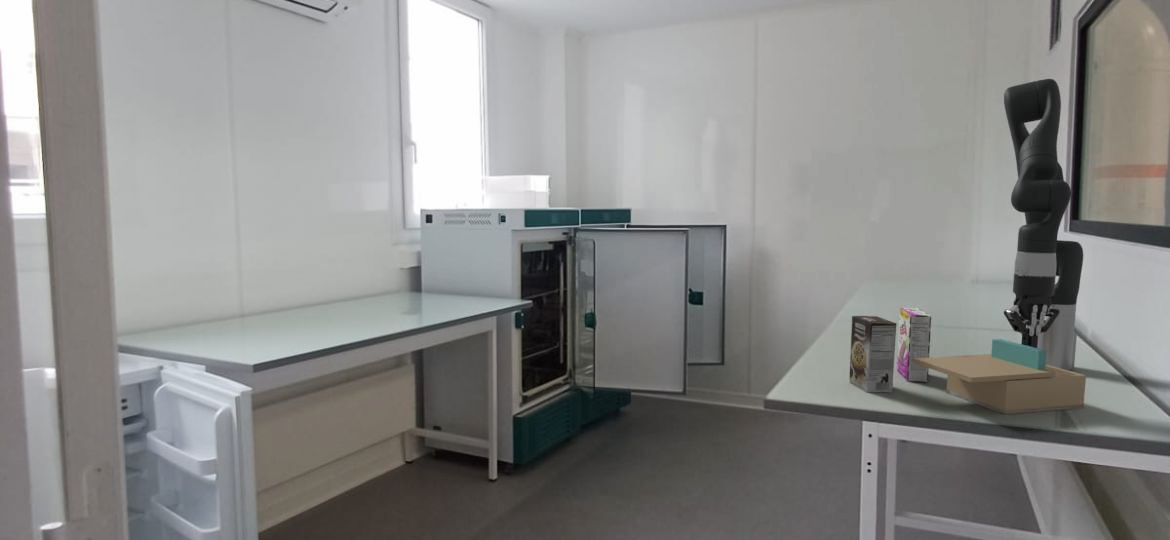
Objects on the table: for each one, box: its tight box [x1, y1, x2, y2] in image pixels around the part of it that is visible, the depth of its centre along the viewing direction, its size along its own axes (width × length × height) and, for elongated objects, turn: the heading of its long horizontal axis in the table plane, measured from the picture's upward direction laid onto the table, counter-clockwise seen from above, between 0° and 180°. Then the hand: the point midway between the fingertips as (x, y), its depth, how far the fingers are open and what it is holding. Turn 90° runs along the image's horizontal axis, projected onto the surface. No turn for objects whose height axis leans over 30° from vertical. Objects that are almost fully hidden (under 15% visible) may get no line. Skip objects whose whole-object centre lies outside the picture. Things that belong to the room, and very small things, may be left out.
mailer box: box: [946, 365, 1087, 415], centre depth 149 cm, size 20×16×7 cm
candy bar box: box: [896, 307, 932, 383], centre depth 168 cm, size 11×5×16 cm, turn 168°
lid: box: [913, 338, 1055, 383], centre depth 147 cm, size 21×17×5 cm
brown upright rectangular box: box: [848, 315, 897, 393], centre depth 159 cm, size 9×6×16 cm
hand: (1028, 351), depth 149 cm, fingers closed
